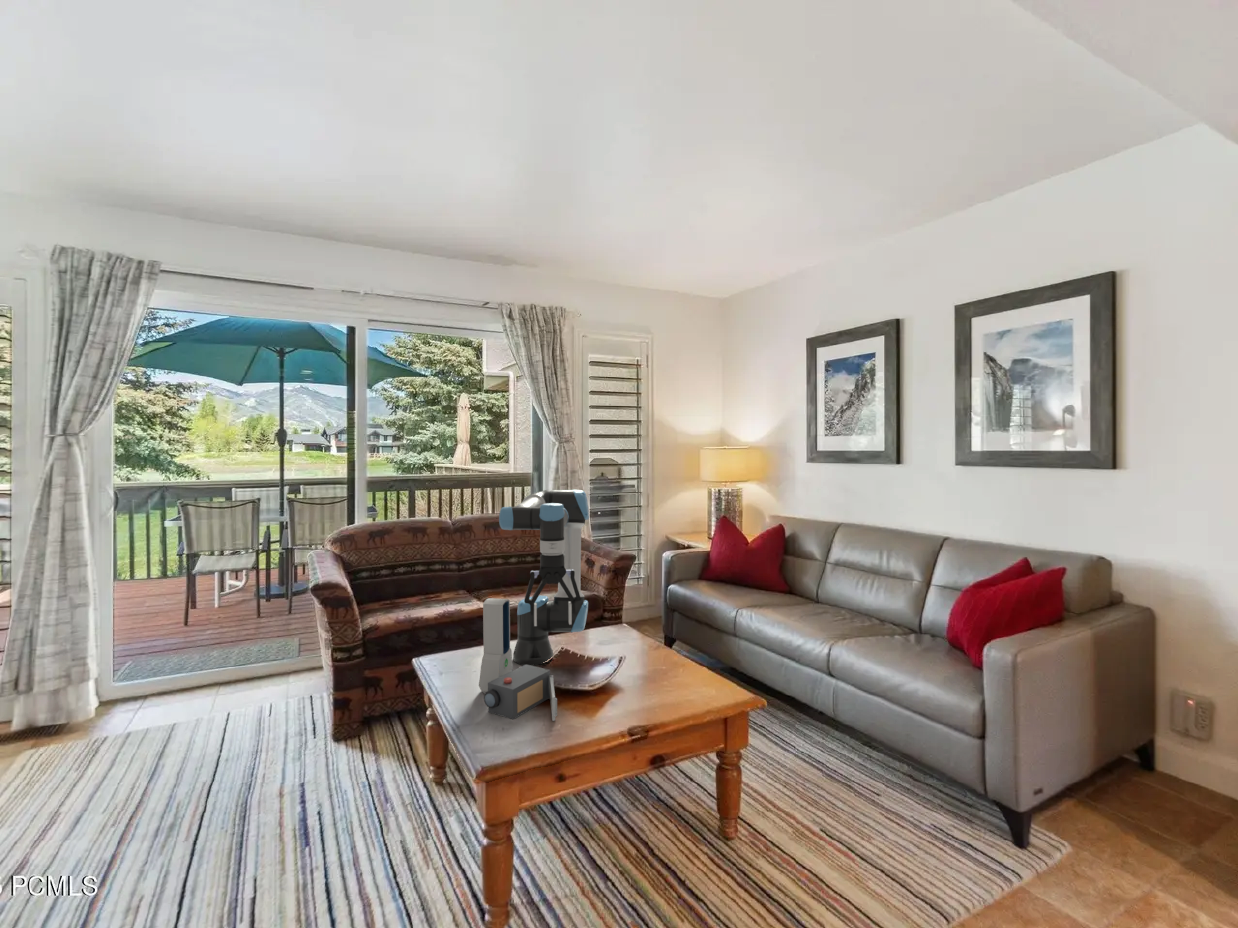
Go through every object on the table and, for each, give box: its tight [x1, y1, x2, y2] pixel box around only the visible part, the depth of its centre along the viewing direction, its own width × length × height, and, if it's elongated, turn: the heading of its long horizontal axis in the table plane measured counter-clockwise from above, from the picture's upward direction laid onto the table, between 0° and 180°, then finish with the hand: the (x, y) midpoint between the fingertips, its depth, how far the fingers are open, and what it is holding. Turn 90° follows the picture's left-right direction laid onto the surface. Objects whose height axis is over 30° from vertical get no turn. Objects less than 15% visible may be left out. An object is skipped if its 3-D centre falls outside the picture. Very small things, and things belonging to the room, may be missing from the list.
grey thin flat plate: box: [549, 674, 558, 722], centre depth 188 cm, size 17×2×7 cm, turn 9°
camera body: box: [483, 664, 551, 720], centre depth 190 cm, size 20×10×10 cm, turn 149°
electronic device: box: [478, 597, 513, 694], centre depth 204 cm, size 12×8×30 cm, turn 168°
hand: (552, 623), depth 190 cm, fingers open, 10 cm apart
